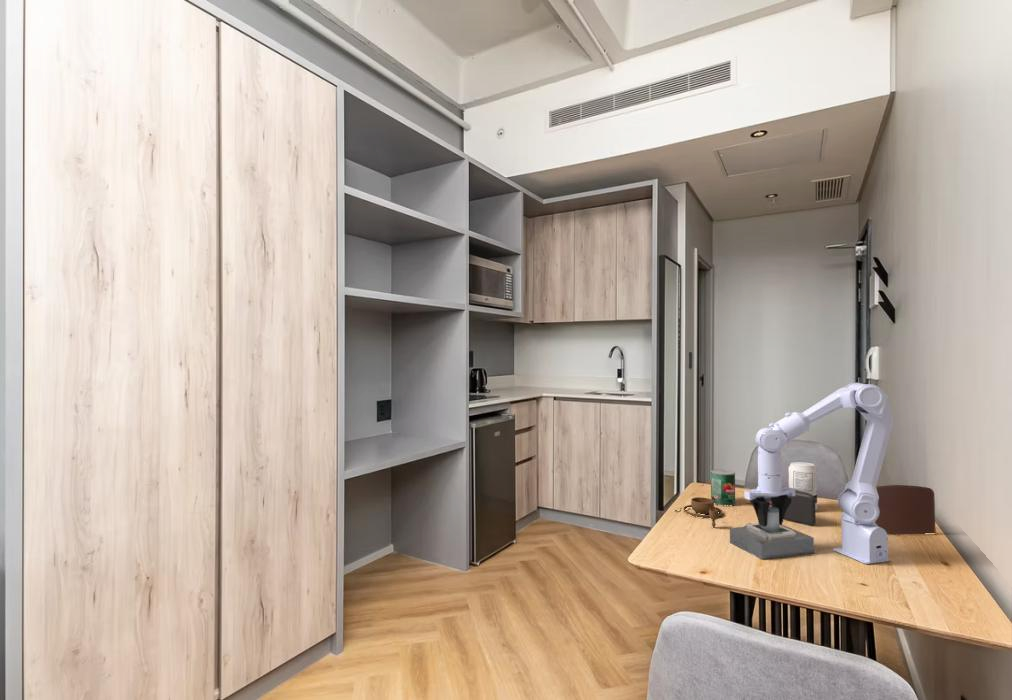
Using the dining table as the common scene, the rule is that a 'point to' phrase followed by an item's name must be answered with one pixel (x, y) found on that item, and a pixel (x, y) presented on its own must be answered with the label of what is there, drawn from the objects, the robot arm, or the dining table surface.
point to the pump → (772, 520)
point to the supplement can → (803, 478)
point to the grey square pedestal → (771, 541)
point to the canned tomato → (723, 487)
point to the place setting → (704, 509)
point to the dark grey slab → (800, 508)
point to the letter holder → (906, 509)
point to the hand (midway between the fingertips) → (770, 524)
